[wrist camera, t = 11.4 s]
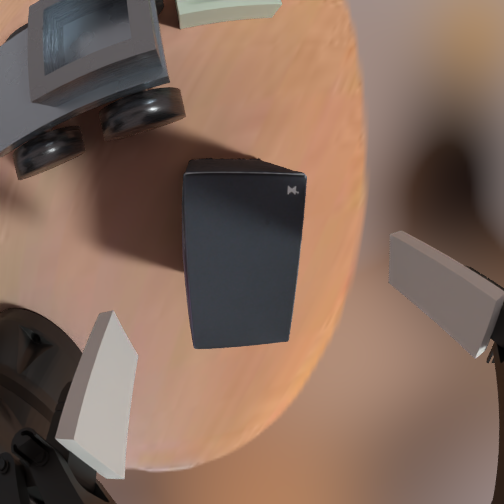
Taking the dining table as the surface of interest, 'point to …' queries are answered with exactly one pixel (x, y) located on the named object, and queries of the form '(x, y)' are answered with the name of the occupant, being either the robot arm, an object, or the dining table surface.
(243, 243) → the small box
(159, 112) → the trolley
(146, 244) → the dining table surface
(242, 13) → the tray
